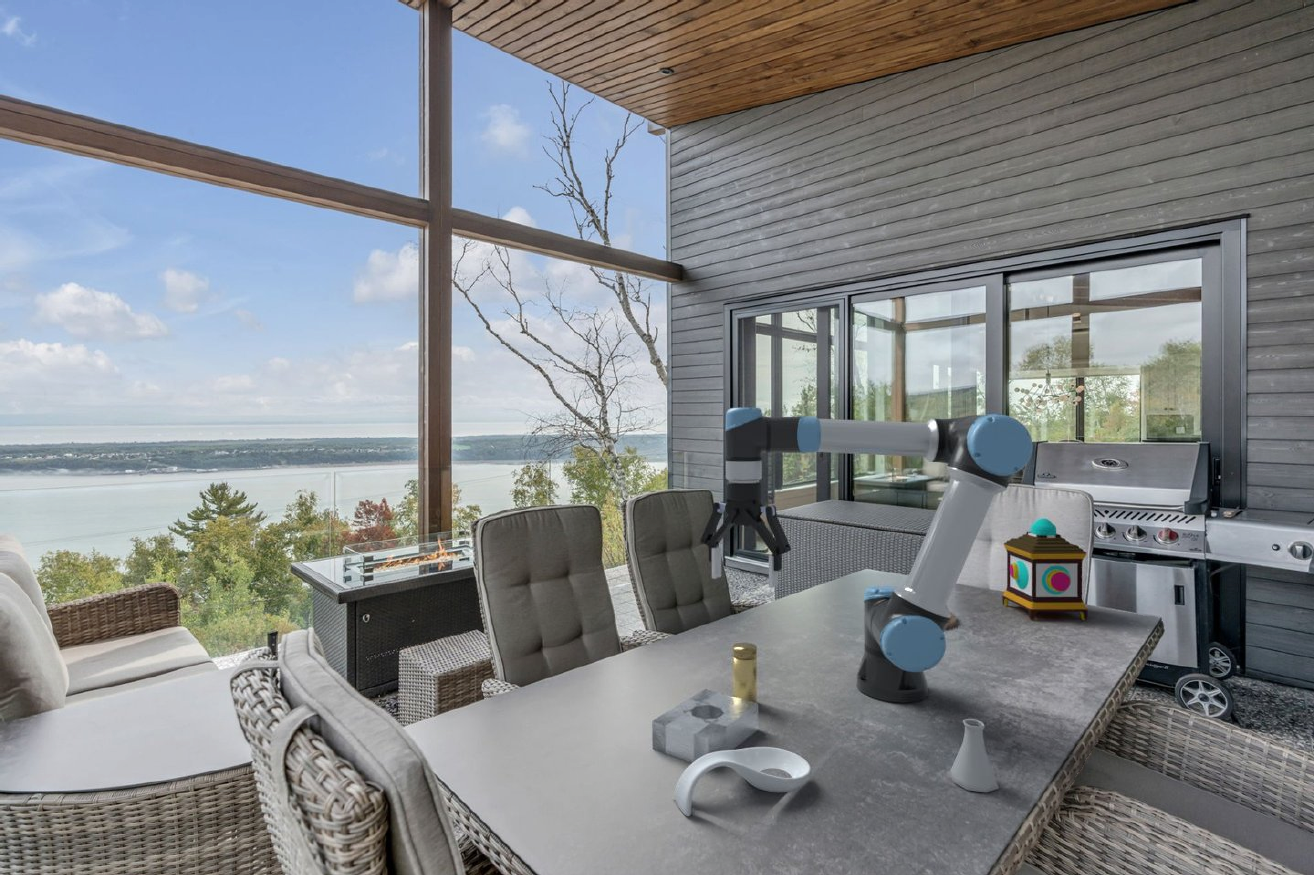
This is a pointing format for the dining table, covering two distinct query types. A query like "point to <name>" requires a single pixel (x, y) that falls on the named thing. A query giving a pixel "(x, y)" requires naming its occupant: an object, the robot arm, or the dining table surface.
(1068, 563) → the decorative lantern
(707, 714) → the bore housing
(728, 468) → the robot arm
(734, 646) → the gold capped cylinder
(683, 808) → the spoon rest
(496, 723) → the dining table surface
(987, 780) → the flask
